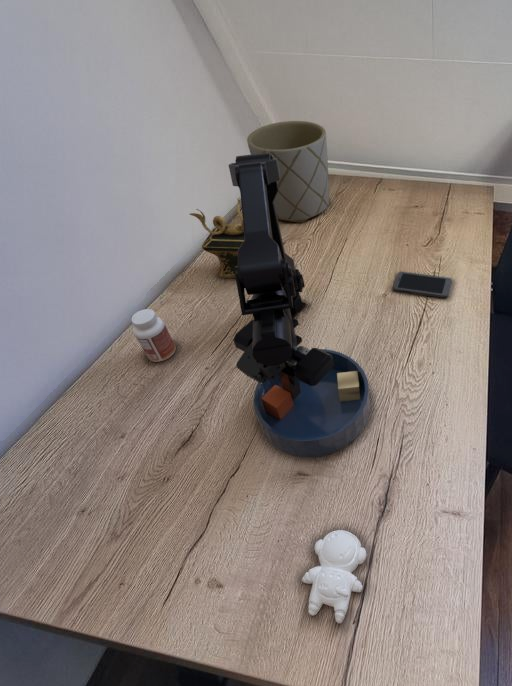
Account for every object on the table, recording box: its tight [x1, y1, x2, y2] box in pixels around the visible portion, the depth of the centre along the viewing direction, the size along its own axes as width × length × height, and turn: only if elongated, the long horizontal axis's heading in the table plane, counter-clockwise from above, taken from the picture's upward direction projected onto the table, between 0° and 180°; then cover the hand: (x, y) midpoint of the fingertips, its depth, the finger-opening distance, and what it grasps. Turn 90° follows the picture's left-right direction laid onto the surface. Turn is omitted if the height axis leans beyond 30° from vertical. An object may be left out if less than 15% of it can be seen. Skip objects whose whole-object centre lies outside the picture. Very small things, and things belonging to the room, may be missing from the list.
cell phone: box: [392, 271, 453, 299], centre depth 114 cm, size 7×14×1 cm, turn 74°
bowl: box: [253, 348, 371, 459], centre depth 86 cm, size 21×21×6 cm
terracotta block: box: [261, 385, 294, 420], centre depth 87 cm, size 4×4×4 cm
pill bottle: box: [131, 308, 176, 363], centre depth 98 cm, size 6×6×11 cm
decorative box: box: [188, 196, 245, 279], centre depth 117 cm, size 20×10×20 cm, turn 83°
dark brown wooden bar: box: [279, 362, 301, 400], centre depth 84 cm, size 2×2×11 cm
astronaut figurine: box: [301, 529, 367, 624], centre depth 65 cm, size 9×12×3 cm
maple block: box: [337, 371, 360, 402], centre depth 89 cm, size 4×4×4 cm
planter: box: [246, 120, 330, 224], centre depth 139 cm, size 23×23×24 cm
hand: (290, 381), depth 86 cm, fingers closed on dark brown wooden bar, 2 cm apart
